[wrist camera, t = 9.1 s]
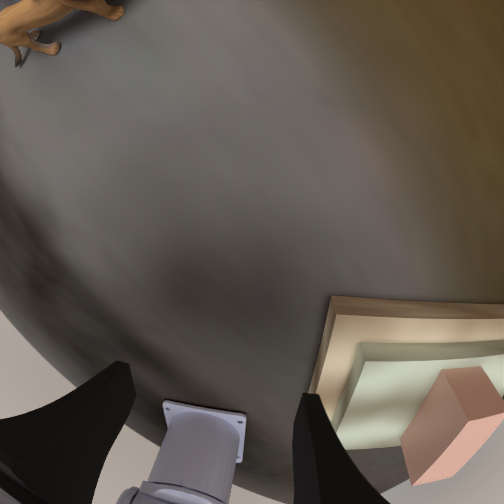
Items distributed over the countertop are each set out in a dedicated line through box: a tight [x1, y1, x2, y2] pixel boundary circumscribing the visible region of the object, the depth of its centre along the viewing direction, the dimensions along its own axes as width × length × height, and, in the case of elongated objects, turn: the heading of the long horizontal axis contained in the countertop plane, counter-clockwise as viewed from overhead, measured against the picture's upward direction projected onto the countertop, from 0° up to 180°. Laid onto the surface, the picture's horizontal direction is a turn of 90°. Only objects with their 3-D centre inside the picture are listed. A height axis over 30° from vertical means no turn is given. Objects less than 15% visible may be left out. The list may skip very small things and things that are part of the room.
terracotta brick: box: [400, 366, 504, 486], centre depth 15 cm, size 8×4×5 cm, turn 176°
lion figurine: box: [0, 0, 124, 67], centre depth 10 cm, size 15×5×9 cm, turn 107°
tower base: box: [308, 295, 504, 450], centre depth 19 cm, size 14×20×4 cm
